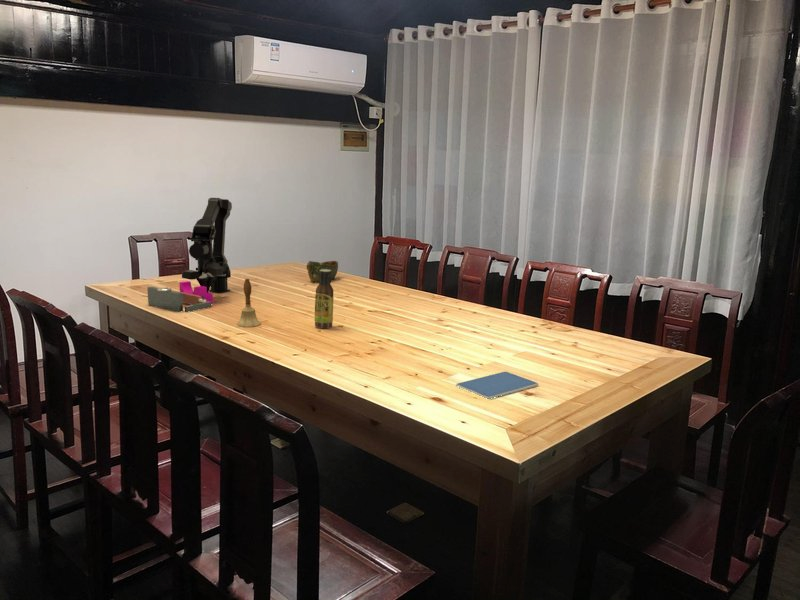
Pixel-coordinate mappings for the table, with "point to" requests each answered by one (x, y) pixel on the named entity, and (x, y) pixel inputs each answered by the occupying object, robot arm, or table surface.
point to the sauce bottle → (324, 301)
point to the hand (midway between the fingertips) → (206, 293)
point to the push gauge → (171, 300)
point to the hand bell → (248, 309)
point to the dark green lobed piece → (316, 266)
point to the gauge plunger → (191, 298)
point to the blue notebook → (497, 385)
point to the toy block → (196, 291)
